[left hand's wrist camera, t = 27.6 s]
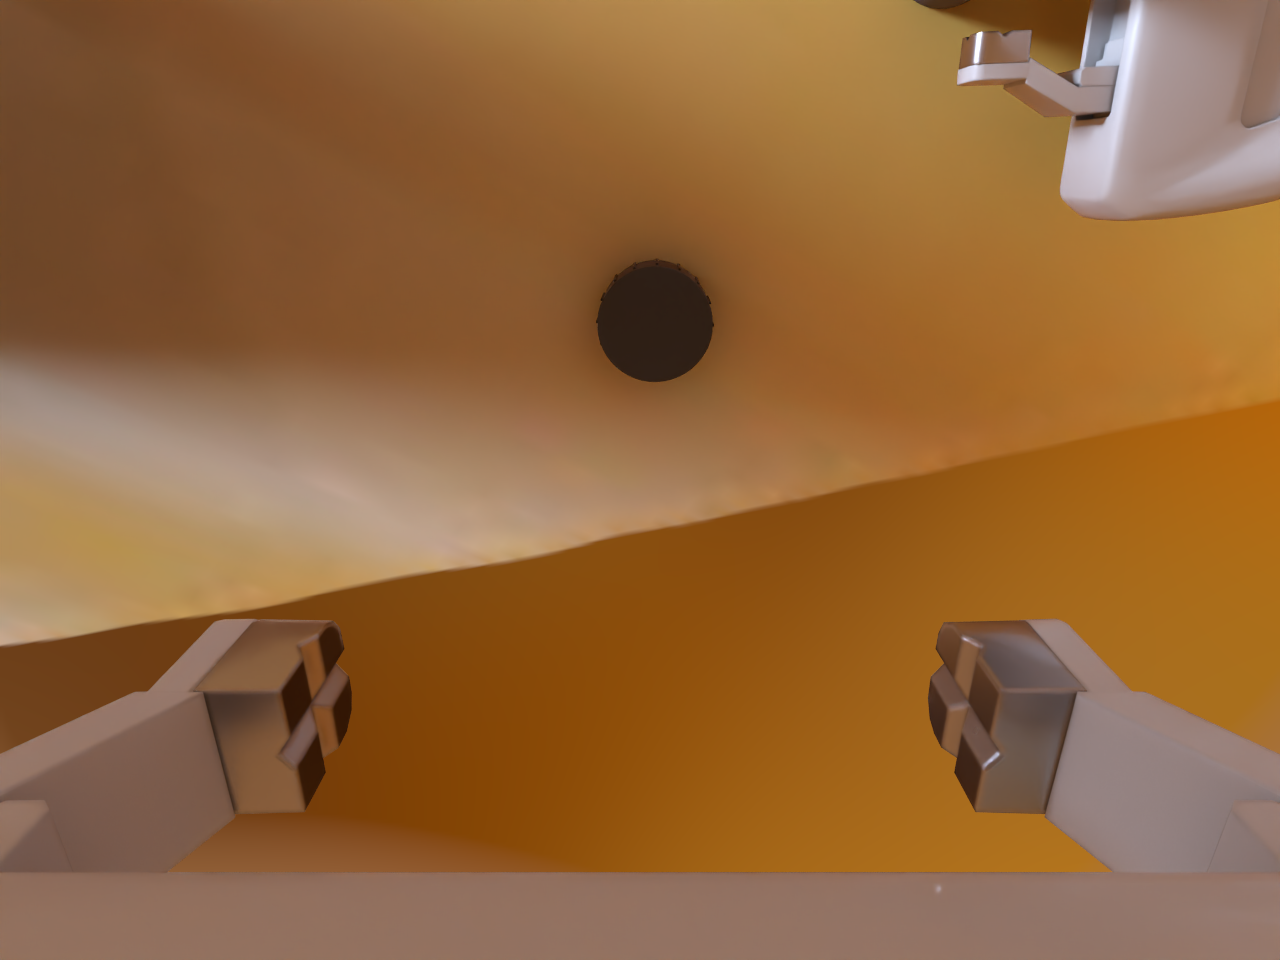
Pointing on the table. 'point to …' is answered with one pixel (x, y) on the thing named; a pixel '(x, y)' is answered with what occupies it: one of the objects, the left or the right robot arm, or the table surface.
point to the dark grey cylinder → (941, 3)
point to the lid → (655, 321)
